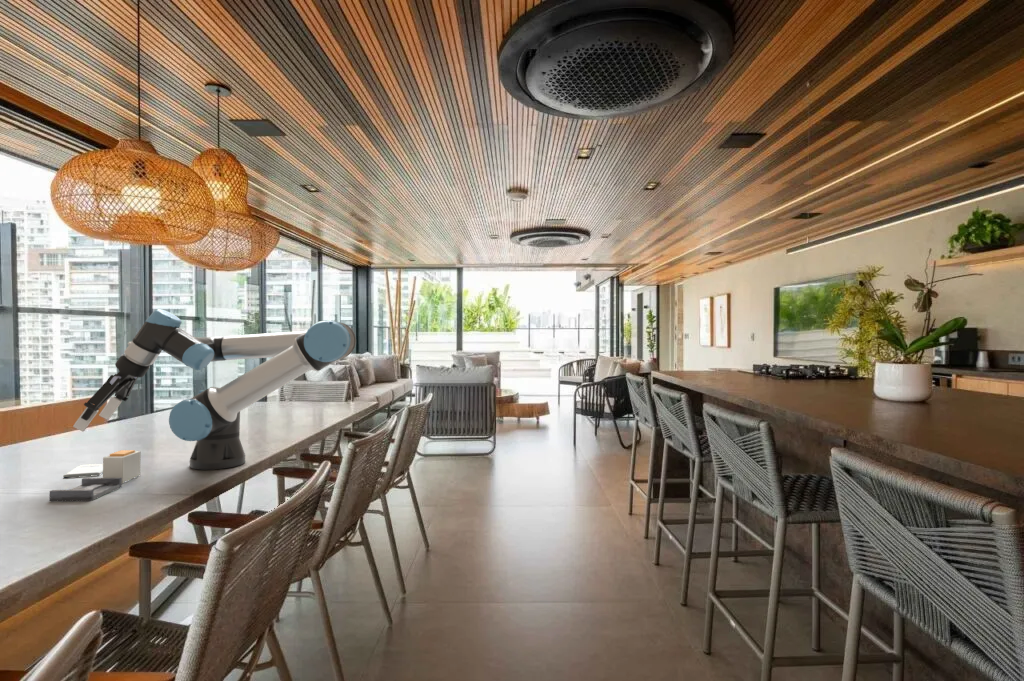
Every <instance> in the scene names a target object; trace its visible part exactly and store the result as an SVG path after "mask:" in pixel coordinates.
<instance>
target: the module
mask: <svg viewBox="0 0 1024 681" xmlns="http://www.w3.org/2000/svg"><path fill="white" fill-rule="evenodd" d="M141 454H142V453H141V450H139V451H138V450H135V449H132V450H131V449H129V450H127V449H123V450H122V449H121V450H117V451H115V452H111V453H109V455H107V456H104V457H103V458H102V464H103V474H102V478H122V484H124V483H123V482H125V481H127V482H129V481H131V480H130V479H132V478H134V477H136V478H138V477H140V476H141V463H142V462H141V456H142V455H141ZM139 475H140V476H139ZM137 476H138V477H137ZM134 479H135V478H134ZM128 480H129V481H128ZM132 480H133V479H132ZM125 483H126V482H125Z"/></svg>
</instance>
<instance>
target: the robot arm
mask: <svg viewBox="0 0 1024 681" xmlns="http://www.w3.org/2000/svg"><path fill="white" fill-rule="evenodd" d="M181 325H182V320H181V318H179V317H178V316H177V315H176V314H174V313H172V312H170V311H168V310H165V309H161V308H158V309H155V310H153V311H152V312H151V314H150V315H149V316H148V318H146V319H145V322H144V323H143V324H142V326H141V327H140V328H139V330H138V332H137V333H136V334H135V336H134V337H133V339H132V340H131V341H128V342H127V347H126V348H125V349H124V351H123V352H124V353H122V354H121V355H119V356H120V357H119V358H118V359H117V360H116V362H115V365H114V366H115V367H116V368H117V370H118V372H117V373H115V374H111V375H110V376H109V377H108V379H107V380H106V381H105V382H104V383H103V385H101V387H100V388H99V389H98V390H97V391H96V392H95V393H94V394H93V395H92V396H91V398H89V399H88V401H86V402H84V403H83V405H84V407H85V408H84V410H83V411H82V413H81V414H80V415H79V417H78V418H77V419H76V421H75V423H74V424H73V425H72V427H73V428H75V429H77V430H79V431H81V432H83V433H84V432H85V431H86V429H87V428H88V427H89V425H90V424H91V422H92V421H93V420H94V418H95V417H96V416H97V414H98V413H99V411H100V410H99V409H100V408H102V406H103V405H104V404H105V403H106V402H107V403H106V405H105V406H104V407H103V408H102V410H101V411H100V413H99V415H98V416H99V417H100V418H103V419H104V420H107V421H108V420H110V419H111V418H112V417H113V415H114V414H115V412H116V411H117V409H118V407H120V405H121V403H123V401H124V402H127V400H128V399H129V398H128V397H130V394H131V393H132V390H133V388H134V386H135V385H136V382H137V380H138V378H143V377H144V376H145V375H146V374H147V372H148V371H149V370H150V368H151V366H152V365H153V364H154V362H156V360H157V359H158V357H159V355H160V354H161V353H162V351H163V352H165V353H166V354H168V355H169V356H171V357H173V358H174V359H175V360H177V361H179V362H180V363H182V364H183V365H185V366H186V367H189V368H190V369H193V370H194V371H201V370H203V369H204V368H207V366H208V365H209V364H210V363H212V362H222V361H224V362H225V361H235V360H249V359H250V360H251V359H263V358H266V359H267V358H269V359H267V360H266V361H264V362H262V363H260V364H259V365H257V366H255V367H253V368H252V369H250V370H248V371H247V372H245V373H243V374H241V375H240V376H237V378H235V379H233V380H231V381H229V382H227V383H226V384H225V385H222V386H221V387H217V386H211V387H209V388H207V389H202V390H201V389H200V390H198V393H197V394H196V395H194V396H192V397H191V398H187V399H186V398H185V399H183V400H181V401H179V402H177V403H176V404H175V405H174V406H173V407H172V409H171V410H170V411H169V416H168V425H169V428H170V430H171V432H172V433H173V434H174V436H176V437H177V438H179V439H181V440H182V441H186V442H195V444H194V448H193V450H192V453H191V456H190V458H189V468H191V469H194V470H202V471H203V470H205V471H206V470H207V471H208V470H221V469H222V470H223V469H229V468H234V467H238V466H241V465H243V464H245V463H246V453H245V450H244V448H243V447H244V446H243V445H242V442H241V439H240V433H241V432H240V431H241V430H240V429H241V427H240V426H241V425H240V423H241V411H243V410H244V409H246V408H248V407H250V406H251V405H254V404H255V403H256V402H258V401H260V400H262V399H263V398H264V397H266V396H268V395H270V394H272V393H273V392H275V391H277V390H279V389H281V388H282V387H284V386H285V385H287V384H288V383H290V382H292V381H293V380H295V379H297V378H299V377H300V376H302V375H304V374H306V373H308V372H309V371H314V372H319V371H322V370H323V369H324V368H326V367H328V366H329V365H331V364H333V363H334V362H336V361H338V360H342V359H345V358H347V357H348V356H350V355H351V354H352V353H353V351H354V350H355V348H356V345H357V339H356V338H357V337H356V334H355V332H354V330H353V329H352V328H351V327H350V326H349V325H348V324H346V323H343V322H341V321H340V322H339V321H335V320H333V319H332V320H331V319H327V320H321V321H317V322H316V323H314V324H312V325H311V326H310V327H309V328H308V329H307V330H301V331H300V330H298V331H287V332H286V331H285V332H284V331H283V332H269V333H268V332H267V333H256V334H255V333H254V334H253V333H252V334H239V335H225V336H223V335H222V336H208V337H207V336H206V337H203V336H202V337H200V336H198V337H195V336H193V335H191V334H190V333H188V332H186V331H185V330H183V329H182V328H181Z"/></svg>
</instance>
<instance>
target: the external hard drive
mask: <svg viewBox="0 0 1024 681" xmlns="http://www.w3.org/2000/svg"><path fill="white" fill-rule="evenodd" d="M101 473H103V463H91V464H80V465H78V466H76V467H74V468H73V469H71V470H69V471H68V472H67V473H66V472H65V474H63V477H76V478H80V477H79V476H91V475H100V474H101ZM101 475H102V474H101ZM101 475H100V476H101ZM91 477H92V476H91Z"/></svg>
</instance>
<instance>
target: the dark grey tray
mask: <svg viewBox="0 0 1024 681" xmlns="http://www.w3.org/2000/svg"><path fill="white" fill-rule="evenodd" d="M122 484H123V483H122V478H103V477H82V478H81V484H80V485H78V486H75V487H72V488H70V489H52V490H49V494H48V495H49V496H48V498H49V501H63V502H91V500H92V501H94V500H96V499H98V498H97V497H99V498H101V497H103V496H105V495H107V494H109V492H110V493H111V491H112V492H114V491H117V490H118V488H119V489H121V488H122V487H123V486H122ZM120 487H121V488H120ZM113 490H114V491H113ZM106 493H107V494H106ZM104 494H105V495H104ZM102 495H103V496H102ZM100 496H101V497H100ZM95 498H96V499H95ZM93 499H94V500H93Z"/></svg>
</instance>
